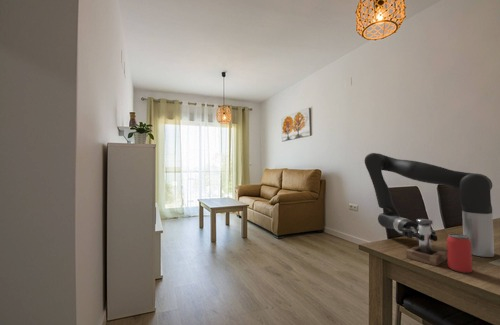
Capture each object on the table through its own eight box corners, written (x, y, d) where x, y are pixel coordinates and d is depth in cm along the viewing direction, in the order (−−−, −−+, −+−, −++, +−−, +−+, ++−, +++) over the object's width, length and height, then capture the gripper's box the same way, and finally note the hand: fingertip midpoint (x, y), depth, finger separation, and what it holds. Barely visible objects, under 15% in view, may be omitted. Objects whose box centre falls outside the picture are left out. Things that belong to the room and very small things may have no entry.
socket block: (417, 252, 102) (417, 245, 102) (446, 259, 94) (446, 252, 94) (406, 257, 96) (406, 250, 97) (436, 265, 88) (435, 257, 88)
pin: (420, 253, 99) (419, 218, 99) (436, 256, 95) (434, 220, 95) (415, 255, 96) (414, 219, 96) (430, 259, 92) (429, 222, 92)
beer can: (463, 274, 81) (462, 239, 81) (443, 267, 87) (441, 234, 87) (477, 272, 82) (475, 237, 83) (456, 264, 89) (455, 232, 89)
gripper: (389, 218, 110) (409, 228, 93) (422, 219, 109) (449, 228, 92) (389, 235, 110) (410, 247, 93) (422, 235, 109) (449, 248, 92)
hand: (429, 238), depth 93 cm, fingers closed on pin, 4 cm apart
